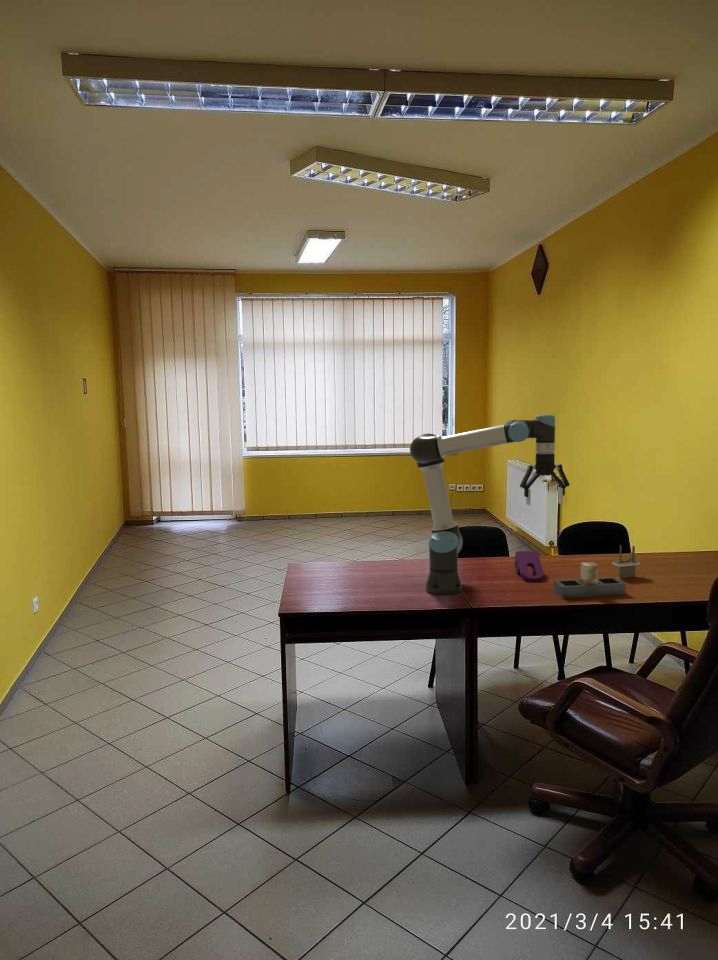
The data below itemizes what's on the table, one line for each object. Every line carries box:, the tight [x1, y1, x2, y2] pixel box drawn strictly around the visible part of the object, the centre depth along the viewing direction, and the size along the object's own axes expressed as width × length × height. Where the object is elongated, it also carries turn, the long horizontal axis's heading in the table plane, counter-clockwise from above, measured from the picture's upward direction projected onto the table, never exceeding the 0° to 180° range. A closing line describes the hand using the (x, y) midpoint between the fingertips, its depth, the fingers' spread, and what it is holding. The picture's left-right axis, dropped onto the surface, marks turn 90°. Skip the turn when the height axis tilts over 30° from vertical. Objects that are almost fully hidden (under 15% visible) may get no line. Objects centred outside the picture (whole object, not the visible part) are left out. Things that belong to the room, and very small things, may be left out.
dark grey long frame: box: [552, 576, 627, 599], centre depth 265 cm, size 26×9×4 cm, turn 96°
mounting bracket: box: [514, 550, 544, 582], centre depth 292 cm, size 9×8×18 cm
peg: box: [580, 561, 599, 585], centre depth 265 cm, size 5×5×12 cm
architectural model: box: [611, 544, 641, 580], centre depth 285 cm, size 21×25×14 cm
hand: (544, 504), depth 272 cm, fingers open, 13 cm apart
